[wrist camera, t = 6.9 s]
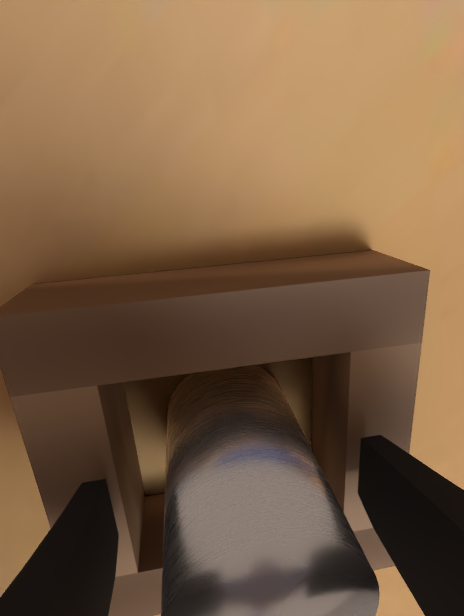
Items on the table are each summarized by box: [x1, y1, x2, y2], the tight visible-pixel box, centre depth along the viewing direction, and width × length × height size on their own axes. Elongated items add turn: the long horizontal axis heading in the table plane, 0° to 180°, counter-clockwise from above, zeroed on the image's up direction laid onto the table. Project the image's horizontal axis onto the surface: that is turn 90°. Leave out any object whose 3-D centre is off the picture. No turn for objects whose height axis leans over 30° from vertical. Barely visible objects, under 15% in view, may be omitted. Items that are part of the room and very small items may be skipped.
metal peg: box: [161, 365, 379, 616], centre depth 11 cm, size 4×4×7 cm
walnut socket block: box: [0, 250, 430, 616], centre depth 12 cm, size 11×11×3 cm
